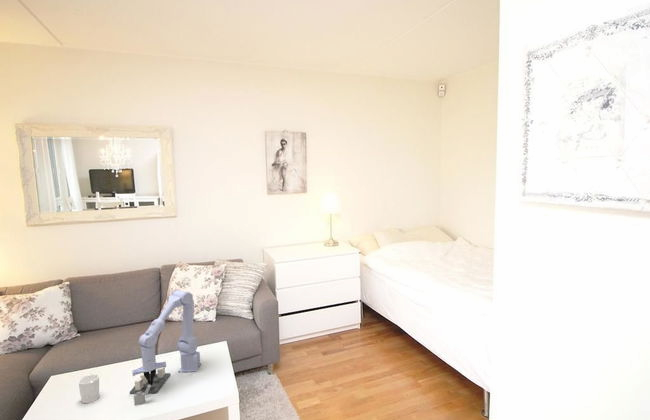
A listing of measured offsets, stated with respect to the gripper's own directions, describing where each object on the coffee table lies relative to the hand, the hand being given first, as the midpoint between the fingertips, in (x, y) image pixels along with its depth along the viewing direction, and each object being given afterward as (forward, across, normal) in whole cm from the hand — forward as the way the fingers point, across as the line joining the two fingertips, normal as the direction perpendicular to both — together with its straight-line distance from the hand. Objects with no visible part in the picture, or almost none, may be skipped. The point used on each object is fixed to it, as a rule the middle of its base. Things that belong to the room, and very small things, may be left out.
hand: (150, 384), depth 163 cm
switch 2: (+2, +2, -7) cm, 8 cm away
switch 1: (+2, +5, -3) cm, 6 cm away
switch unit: (+3, 0, -6) cm, 6 cm away
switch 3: (+2, -5, -8) cm, 10 cm away
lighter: (+3, +4, +8) cm, 9 cm away
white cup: (+3, +25, -9) cm, 27 cm away
